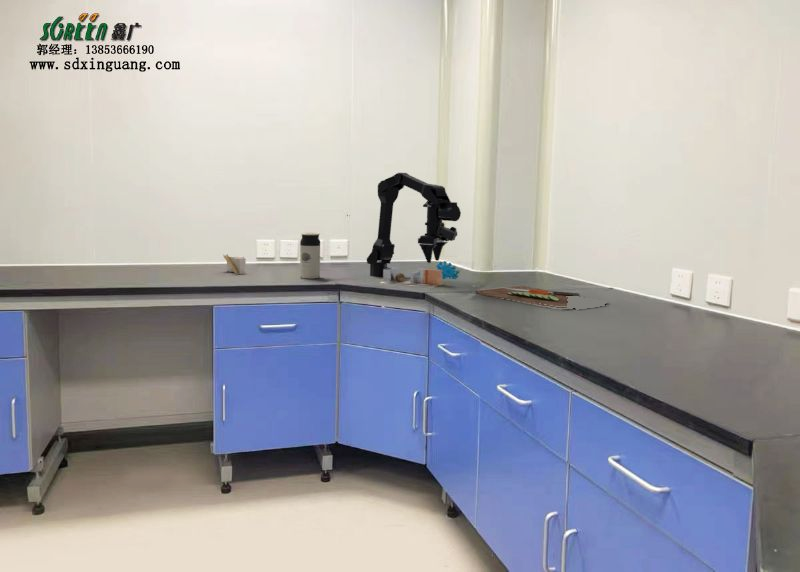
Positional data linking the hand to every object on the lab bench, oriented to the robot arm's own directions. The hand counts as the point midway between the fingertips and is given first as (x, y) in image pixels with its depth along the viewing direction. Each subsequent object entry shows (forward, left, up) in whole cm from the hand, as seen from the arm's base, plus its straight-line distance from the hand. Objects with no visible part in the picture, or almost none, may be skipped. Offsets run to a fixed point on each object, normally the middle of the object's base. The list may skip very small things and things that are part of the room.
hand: (433, 261), depth 253 cm
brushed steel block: (-17, 0, -9) cm, 19 cm away
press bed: (-8, 0, -10) cm, 13 cm away
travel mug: (-52, 0, -10) cm, 53 cm away
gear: (-2, +24, -10) cm, 26 cm away
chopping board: (+41, -2, -11) cm, 42 cm away
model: (-87, -4, -11) cm, 87 cm away
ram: (-2, 0, -8) cm, 9 cm away
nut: (-13, 0, -9) cm, 16 cm away
